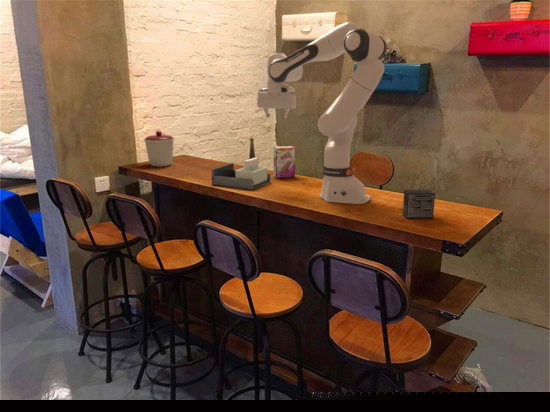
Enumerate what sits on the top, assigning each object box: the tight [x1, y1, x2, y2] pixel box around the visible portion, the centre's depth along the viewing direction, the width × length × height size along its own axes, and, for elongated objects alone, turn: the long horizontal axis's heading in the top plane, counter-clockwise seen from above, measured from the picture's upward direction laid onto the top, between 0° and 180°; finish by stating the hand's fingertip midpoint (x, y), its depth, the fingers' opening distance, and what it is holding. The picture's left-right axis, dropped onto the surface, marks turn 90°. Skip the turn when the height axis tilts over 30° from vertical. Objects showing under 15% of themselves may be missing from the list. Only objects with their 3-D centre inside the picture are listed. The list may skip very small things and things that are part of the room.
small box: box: [402, 188, 436, 220], centre depth 175 cm, size 11×6×10 cm, turn 88°
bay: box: [211, 162, 272, 191], centre depth 230 cm, size 24×18×8 cm
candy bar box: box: [272, 145, 297, 179], centre depth 243 cm, size 11×5×16 cm, turn 110°
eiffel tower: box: [248, 137, 256, 159], centre depth 244 cm, size 11×11×25 cm
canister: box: [143, 130, 175, 168], centre depth 275 cm, size 18×18×21 cm
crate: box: [234, 157, 268, 186], centre depth 226 cm, size 10×14×12 cm
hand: (276, 117), depth 221 cm, fingers open, 8 cm apart
